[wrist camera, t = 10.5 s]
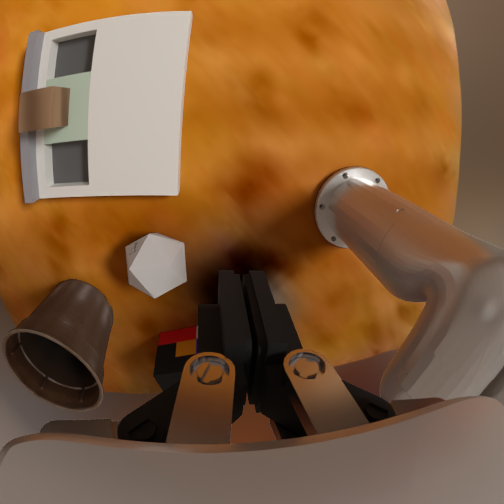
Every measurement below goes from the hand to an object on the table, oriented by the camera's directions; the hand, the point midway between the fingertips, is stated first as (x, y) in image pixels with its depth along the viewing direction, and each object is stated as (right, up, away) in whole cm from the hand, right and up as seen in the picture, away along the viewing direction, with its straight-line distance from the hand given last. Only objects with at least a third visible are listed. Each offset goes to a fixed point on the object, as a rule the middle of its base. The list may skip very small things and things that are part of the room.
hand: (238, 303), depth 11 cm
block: (-25, +20, +16) cm, 36 cm away
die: (-13, +2, +30) cm, 33 cm away
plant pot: (-29, -7, +32) cm, 44 cm away
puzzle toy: (-10, -15, +39) cm, 43 cm away
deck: (-19, +21, +20) cm, 34 cm away
